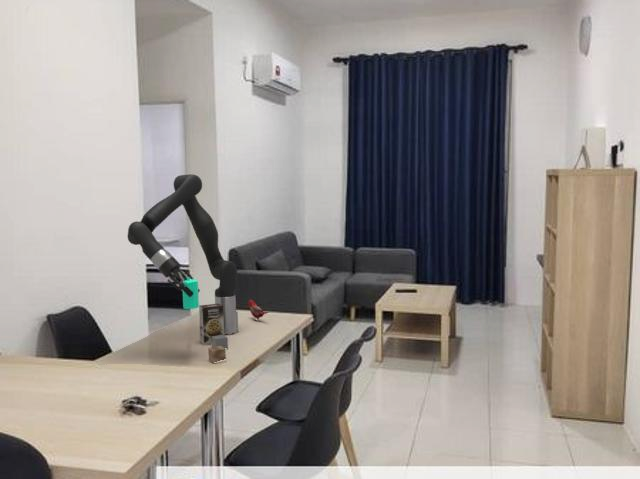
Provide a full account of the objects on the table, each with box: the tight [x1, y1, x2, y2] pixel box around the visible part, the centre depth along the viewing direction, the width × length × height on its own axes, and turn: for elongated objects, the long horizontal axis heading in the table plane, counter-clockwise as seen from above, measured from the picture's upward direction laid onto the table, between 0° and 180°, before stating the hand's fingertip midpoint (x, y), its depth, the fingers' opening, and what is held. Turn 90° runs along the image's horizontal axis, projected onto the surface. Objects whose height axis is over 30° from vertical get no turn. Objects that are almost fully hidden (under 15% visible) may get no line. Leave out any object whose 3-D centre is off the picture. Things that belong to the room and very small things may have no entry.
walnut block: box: [207, 346, 227, 364], centre depth 219 cm, size 5×5×5 cm
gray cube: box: [211, 335, 229, 349], centre depth 236 cm, size 5×5×5 cm
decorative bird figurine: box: [248, 299, 269, 320], centre depth 280 cm, size 3×18×10 cm, turn 40°
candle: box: [182, 278, 200, 310], centre depth 222 cm, size 6×6×12 cm
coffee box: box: [198, 303, 225, 346], centre depth 245 cm, size 9×6×16 cm
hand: (194, 293), depth 222 cm, fingers closed on candle, 4 cm apart
